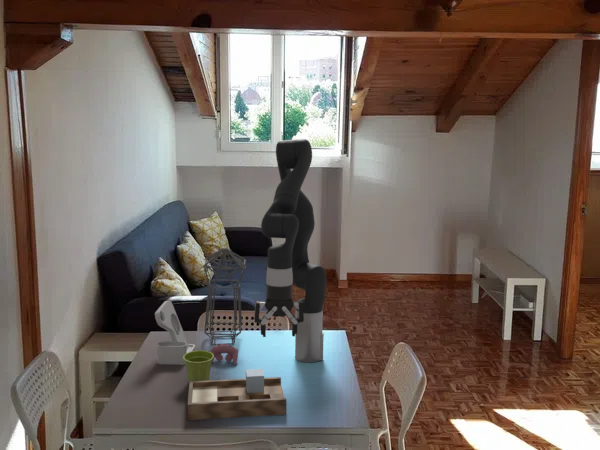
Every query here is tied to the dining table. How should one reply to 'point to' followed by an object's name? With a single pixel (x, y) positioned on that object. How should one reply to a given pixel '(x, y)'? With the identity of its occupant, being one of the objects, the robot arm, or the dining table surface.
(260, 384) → the block
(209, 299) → the geometric lantern
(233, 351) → the video game controller
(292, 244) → the robot arm
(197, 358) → the plant pot
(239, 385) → the box
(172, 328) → the phone holder
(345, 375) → the dining table surface
